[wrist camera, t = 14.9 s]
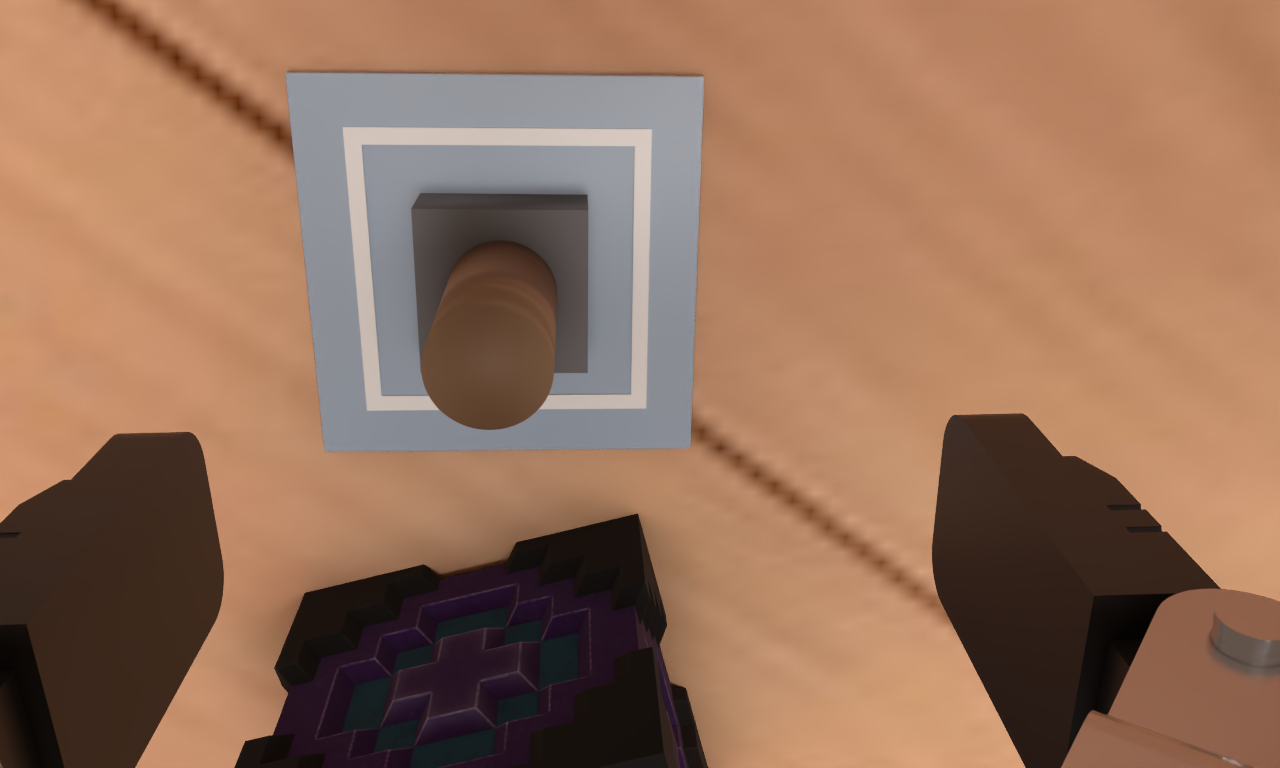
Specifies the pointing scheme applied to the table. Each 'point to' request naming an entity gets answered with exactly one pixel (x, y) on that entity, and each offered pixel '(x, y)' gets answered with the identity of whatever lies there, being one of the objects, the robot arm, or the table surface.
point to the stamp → (499, 300)
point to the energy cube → (487, 666)
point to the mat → (500, 164)
